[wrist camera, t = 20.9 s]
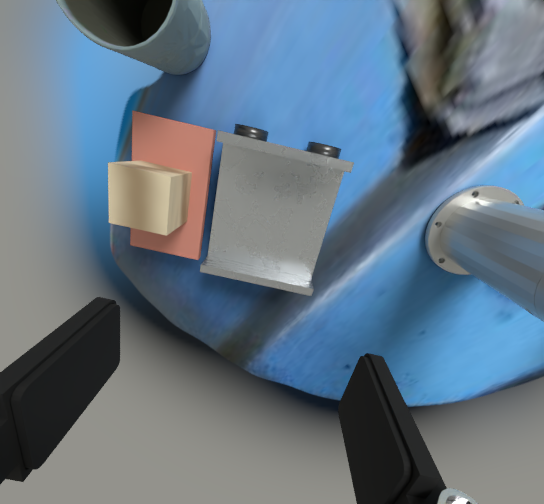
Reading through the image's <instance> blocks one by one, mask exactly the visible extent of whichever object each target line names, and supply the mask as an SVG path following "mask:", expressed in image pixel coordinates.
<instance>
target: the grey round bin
mask: <svg viewBox="0 0 544 504" xmlns="http://www.w3.org/2000/svg"><path fill="white" fill-rule="evenodd" d="M56 1H57V3H58V4H59V6H60V8H61V9H62V10H63V12H64V14H65V15H66V16H67V18H68V19H69V20H70V21H71V22H72V24H73V25H74V26H75V27H76V28H77V29H78V30H79V31H80V32H81V33H83V34H84V35H85V36H86V37H87V38H89V39H90V40H92V41H93V42H95V43H96V44H98V45H100V46H102V47H105V48H107V49H110V50H113V51H115V52H118V53H121V54H123V55H125V56H128V57H130V58H133V59H136V60H138V61H141V62H143V63H146V64H148V65H150V66H153V67H155V68H157V69H159V70H162V71H164V72H166V73H169V74H174V75H182V74H187V73H190V72H192V71H193V70H195V69H196V68H198V67H199V66H200V65H201V63H202V62H203V60H204V59H205V57H206V55H207V53H208V49H209V46H210V40H211V31H210V22H209V18H208V15H207V12H206V9H205V7H204V4H203V2H202V0H56Z"/></svg>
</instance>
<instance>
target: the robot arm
mask: <svg viewBox="0 0 544 504" xmlns="http://www.w3.org/2000/svg"><path fill="white" fill-rule="evenodd" d="M435 223H436V224H435ZM425 245H426V249H427V252H428V255H429V256H430V258H431V259H432V261H433V262H434V263H436V264H437V265H438V266H439V267H441V268H442V269H443V270H446V271H448V272H450V273H454V274H458V275H470V274H472V275H473V276H475V277H476V278H478V279H479V280H481V281H482V282H484V283H485V284H487V285H488V286H490V287H492V288H493V289H495V290H496V291H498V292H499V293H501V294H502V295H504V296H505V297H507V298H508V299H510V300H511V301H513V302H514V303H516V304H517V305H519V306H520V307H522V308H523V309H525V310H526V311H528V312H529V313H531V314H532V315H534V316H535V317H537V318H538V319H540V320H542V321H543V322H544V210H540V209H536V208H531V207H527V206H524V204H523V202H522V200H521V199H520V198H519V197H518V196H517V195H516V194H514V193H513V192H511V191H510V190H508V189H505V188H502V187H497V186H489V185H481V186H475V187H471V188H468V189H465V190H462V191H460V192H458V193H456V194H454V195H453V196H451V197H450V198H449V199H447V200H446V201H445V202H444V203H443V204H442V205H441V206H440V207H439V208H438V209H437V210H436V212H435V213H434V214H433V216H432V218H431V219H430V221H429V223H428V226H427V230H426V235H425ZM119 362H120V307H119V305H116V301H114V300H110V299H106V298H101V297H97V298H95V299H94V300H93V301H91V302H90V303H89V304H88V305H86V306H85V307H84V308H82V309H81V310H80V311H79V312H77V313H76V314H75V315H73V316H72V317H71V318H70V319H68V320H67V321H66V322H65V323H63V324H62V325H61V326H59V327H58V328H57V329H55V330H54V331H53V332H52V333H50V334H49V335H48V336H47V337H45V338H44V339H43V340H41V341H40V342H39V343H38V344H36V345H35V346H34V347H33V348H31V349H30V350H29V351H27V352H26V353H25V354H24V355H22V356H21V357H20V358H18V359H17V360H16V361H14V362H13V363H12V364H11V365H9V366H8V367H7V368H6V369H4V370H3V371H2V372H0V484H1V483H2V482H3V481H4V480H5V479H10V480H15V481H21V482H23V481H24V480H25V479H26V477H27V476H28V475H29V474H30V472H31V471H32V470H33V469H38V468H39V467H40V466H41V465H42V464H43V463H44V462H45V461H46V459H47V458H48V457H49V455H50V454H51V453H52V452H53V450H54V449H55V448H56V447H57V445H58V444H59V443H60V441H61V440H62V439H63V437H64V436H65V435H66V434H67V432H68V431H69V430H70V428H71V427H72V426H73V424H74V423H75V422H76V421H77V419H78V418H79V416H80V415H81V414H82V413H83V412H84V410H85V409H86V408H87V406H88V405H89V404H90V402H91V401H92V400H93V399H94V397H95V396H96V395H97V393H98V392H99V391H100V389H101V388H102V387H103V386H104V384H105V383H106V382H107V380H108V379H109V378H110V376H111V375H112V374H113V373H114V371H115V370H116V368H117V367H118V365H119ZM338 413H339V418H340V423H341V428H342V433H343V438H344V443H345V447H346V452H347V457H348V462H349V467H350V472H351V476H352V482H353V487H354V491H355V496H356V501H357V504H478V503H477V502H476V501H474V500H473V499H472V498H471V497H469V496H468V495H466V494H465V493H463V492H461V491H459V490H456V489H450V488H446V486H445V484H444V482H443V480H442V478H441V476H440V474H439V471H438V469H437V467H436V465H435V463H434V461H433V459H432V457H431V455H430V453H429V451H428V449H427V446H426V445H425V442H424V440H423V438H422V436H421V434H420V432H419V430H418V428H417V426H416V424H415V421H414V419H413V417H412V415H411V413H410V411H409V409H408V407H407V405H406V403H405V402H404V400H403V398H402V395H401V393H400V391H399V389H398V387H397V385H396V383H395V381H394V379H393V377H392V375H391V372H390V370H389V368H388V366H387V364H386V362H385V360H384V358H383V357H382V356H378V355H373V354H368V353H367V354H365V355H364V356H361V357H360V358H359V360H358V363H357V365H356V367H355V369H354V372H353V374H352V376H351V378H350V380H349V383H348V385H347V387H346V389H345V392H344V394H343V396H342V398H341V401H340V403H339V408H338Z"/></svg>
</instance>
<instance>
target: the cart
mask: <svg viewBox="0 0 544 504" xmlns="http://www.w3.org/2000/svg"><path fill="white" fill-rule="evenodd" d="M267 137H268V132H267V131H264V130H261V129H257V128H253V127H249V126H245V125H240V124H235V130H234V134H231V133H227V132H223V131H219V130H218V135H217V141H218V142H223V148H222V155H221V162H220V170H219V177H218V184H217V192H216V199H215V206H214V213H213V221H212V228H211V235H210V243H209V250H208V256H207V257H206V258H205V260H204V261H203V262H202V264H201V268H200V272H203V273H208V274H212V275H217V276H222V277H226V278H231V279H235V280H240V281H245V282H249V283H254V284H259V285H263V286H268V287H272V288H277V289H282V290H286V291H291V292H296V293H300V294H305V295H309V296H311V295H312V292H313V284H312V279H311V277H312V274H313V270H314V267H315V264H316V261H317V257H318V254H319V251H320V248H321V245H322V241H323V238H324V235H325V232H326V228H327V225H328V222H329V219H330V216H331V212H332V209H333V206H334V203H335V199H336V196H337V193H338V190H339V187H340V183H341V180H342V177H343V174H344V171H346V172H350V173H351V170H352V167H353V164H354V163H353V162H349V161H345V160H341V159H338V158H339V155H340V152H341V149H339V148H336V147H332V146H328V145H324V144H320V143H315V142H309V143H308V147H307V151H303V150H299V149H294V148H290V147H286V146H282V145H278V144H273V143H269V142H267Z"/></svg>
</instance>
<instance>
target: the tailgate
mask: <svg viewBox="0 0 544 504" xmlns="http://www.w3.org/2000/svg"><path fill="white" fill-rule="evenodd" d="M215 136H216V130H212V129H208V128H204V127H200V126H195V125H191V124H187V123H183V122H179V121H174V120H170V119H166V118H162V117H158V116H153V115H149V114H145V113H141V112H137V111H133V117H132V161H146V162H150V163H154V164H158V165H163V166H167V167H171V168H176V169H180V170H184V171H189V172H192V179H191V188H190V198H189V208H188V218H187V222H185V223H184V224H182V225H181V226H180V227H178V228H177V229H175V230H174V231H173V232H171V233H170V234H168V235H167V236H166V235H161V234H157V233H152V232H148V231H144V230H139V229H135V228H131V242H130V245H132V246H136V247H141V248H145V249H150V250H155V251H159V252H164V253H168V254H173V255H177V256H182V257H186V258H191V259H195V260H198V259H199V258H200V255H201V247H202V239H203V231H204V223H205V215H206V207H207V199H208V191H209V183H210V176H211V168H212V160H213V152H214V144H215Z"/></svg>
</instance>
